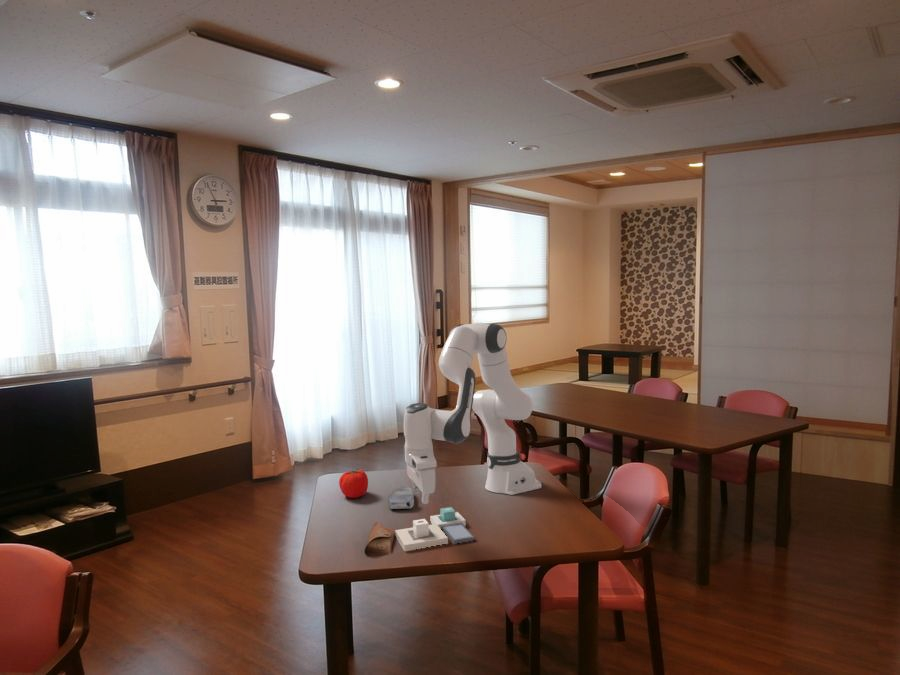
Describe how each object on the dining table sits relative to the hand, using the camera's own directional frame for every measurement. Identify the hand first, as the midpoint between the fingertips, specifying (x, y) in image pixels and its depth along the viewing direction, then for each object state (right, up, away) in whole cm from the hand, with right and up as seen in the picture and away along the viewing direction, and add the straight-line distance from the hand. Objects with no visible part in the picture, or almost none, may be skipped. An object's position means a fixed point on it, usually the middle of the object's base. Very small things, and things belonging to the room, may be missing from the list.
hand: (420, 497), depth 186 cm
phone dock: (+10, -13, +7) cm, 18 cm away
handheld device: (-9, -11, +36) cm, 39 cm away
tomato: (-28, -11, +43) cm, 52 cm away
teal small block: (+9, -13, +13) cm, 20 cm away
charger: (0, -14, +1) cm, 14 cm away
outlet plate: (0, -14, +1) cm, 14 cm away
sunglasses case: (-12, -15, 0) cm, 19 cm away
